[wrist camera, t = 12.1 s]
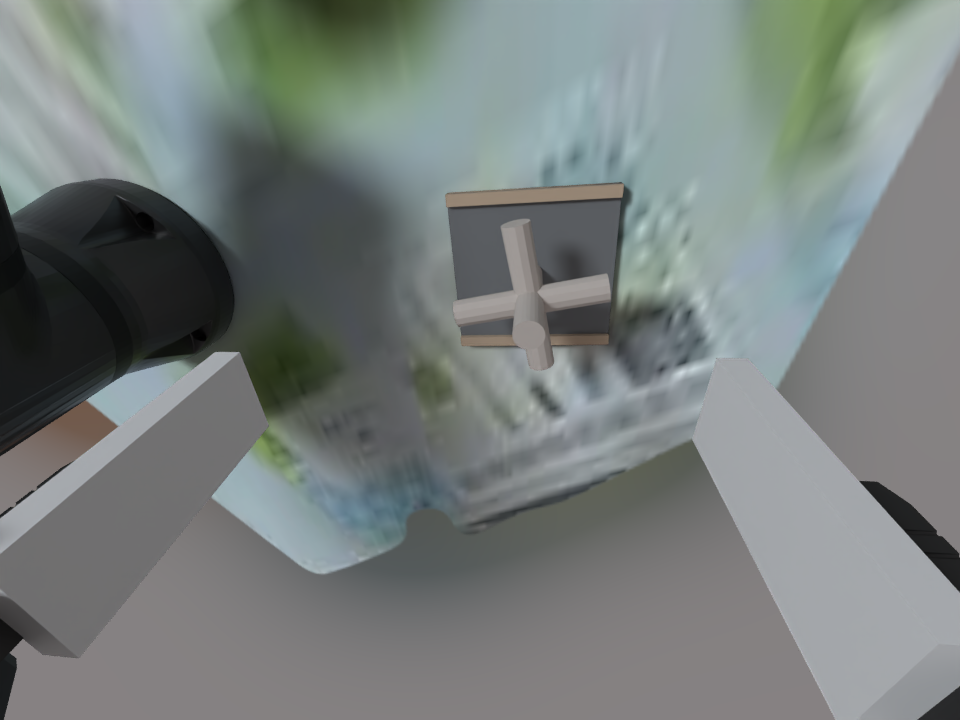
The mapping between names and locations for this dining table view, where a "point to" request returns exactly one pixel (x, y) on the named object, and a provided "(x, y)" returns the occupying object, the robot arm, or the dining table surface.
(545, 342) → the pipe connector
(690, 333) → the dining table surface
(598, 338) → the mat
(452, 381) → the dining table surface
